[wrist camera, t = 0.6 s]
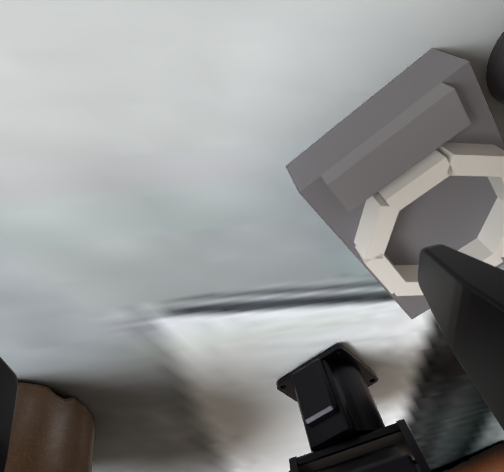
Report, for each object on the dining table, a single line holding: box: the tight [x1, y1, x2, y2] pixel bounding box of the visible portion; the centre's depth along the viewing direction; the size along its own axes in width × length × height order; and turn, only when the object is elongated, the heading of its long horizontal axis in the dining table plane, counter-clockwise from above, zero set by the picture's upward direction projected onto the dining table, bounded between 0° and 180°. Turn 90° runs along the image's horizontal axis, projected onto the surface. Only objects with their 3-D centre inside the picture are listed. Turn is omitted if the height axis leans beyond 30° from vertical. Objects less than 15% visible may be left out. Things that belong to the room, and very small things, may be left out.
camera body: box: [286, 48, 504, 319], centre depth 22 cm, size 13×9×4 cm
